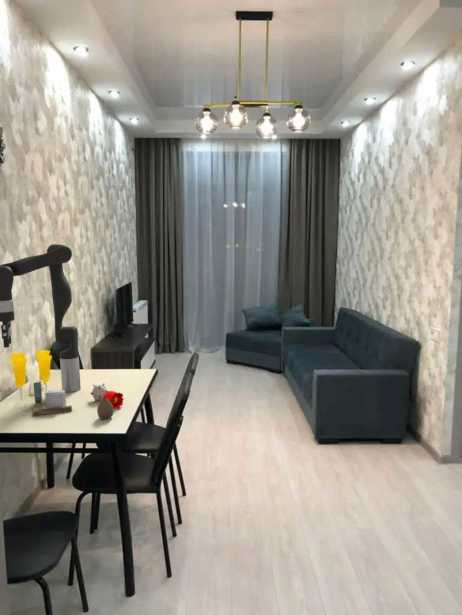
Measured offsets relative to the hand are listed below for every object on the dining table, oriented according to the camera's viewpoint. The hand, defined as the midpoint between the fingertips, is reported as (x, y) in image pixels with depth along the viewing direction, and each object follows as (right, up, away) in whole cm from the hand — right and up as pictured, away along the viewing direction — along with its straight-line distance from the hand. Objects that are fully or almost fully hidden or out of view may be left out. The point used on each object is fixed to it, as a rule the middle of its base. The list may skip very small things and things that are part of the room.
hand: (7, 345), depth 229 cm
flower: (+47, -29, +4) cm, 55 cm away
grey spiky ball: (+38, -28, +14) cm, 49 cm away
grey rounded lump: (+47, -31, -10) cm, 57 cm away
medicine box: (+22, -30, +2) cm, 37 cm away
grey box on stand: (+19, -29, +5) cm, 35 cm away
